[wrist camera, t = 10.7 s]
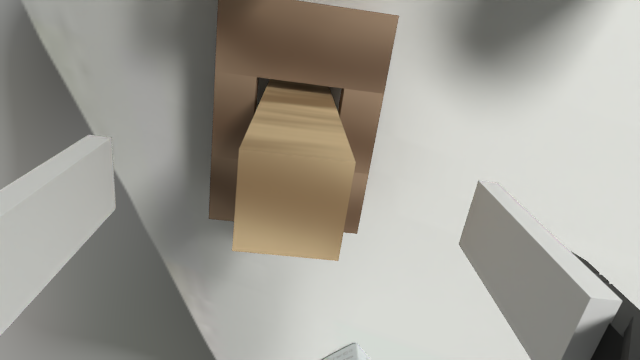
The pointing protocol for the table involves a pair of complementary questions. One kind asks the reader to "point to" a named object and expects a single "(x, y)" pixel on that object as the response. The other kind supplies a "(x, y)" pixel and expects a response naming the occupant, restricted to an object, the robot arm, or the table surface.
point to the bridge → (297, 79)
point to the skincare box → (349, 354)
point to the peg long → (293, 175)
